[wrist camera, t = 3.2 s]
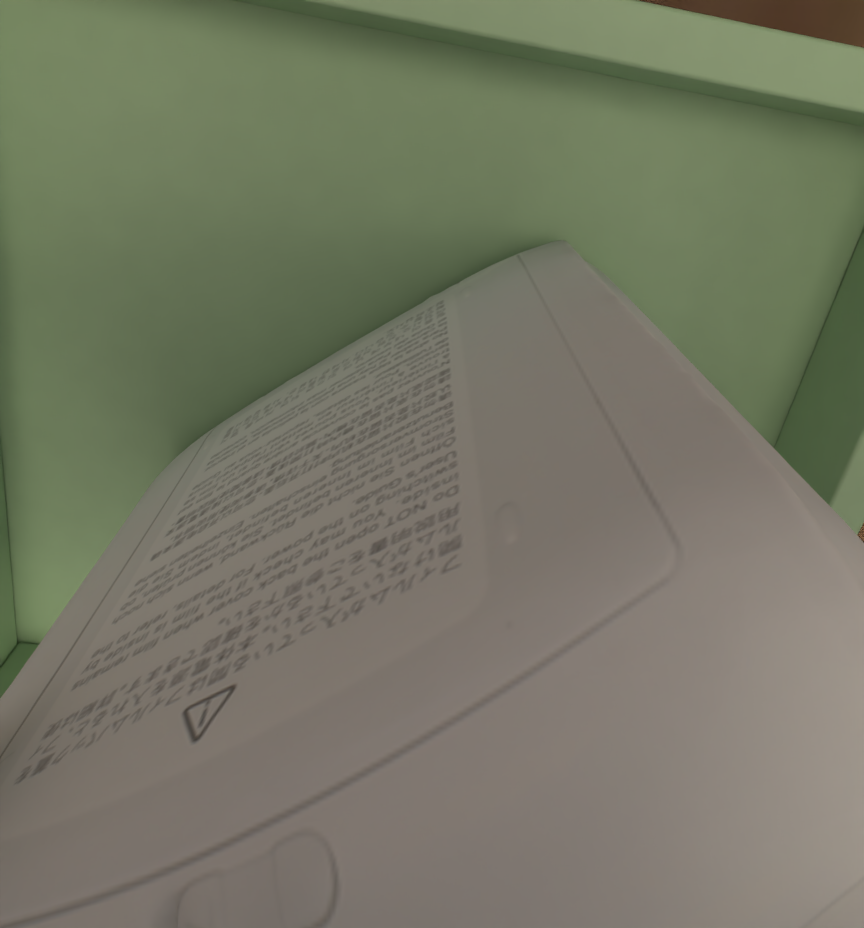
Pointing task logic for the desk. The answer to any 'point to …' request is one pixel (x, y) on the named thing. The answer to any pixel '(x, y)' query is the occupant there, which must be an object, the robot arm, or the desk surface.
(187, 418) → the tray
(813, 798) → the white rounded tower
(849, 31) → the desk surface
